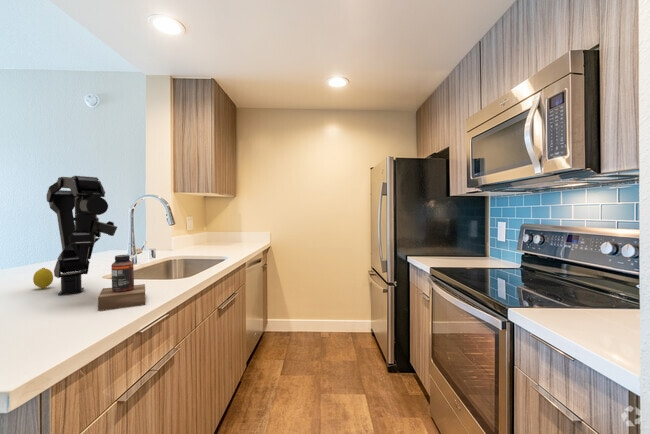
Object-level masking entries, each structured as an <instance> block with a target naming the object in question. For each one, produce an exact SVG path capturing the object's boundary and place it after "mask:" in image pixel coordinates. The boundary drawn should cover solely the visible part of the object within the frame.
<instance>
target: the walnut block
mask: <svg viewBox="0 0 650 434" xmlns="http://www.w3.org/2000/svg"><path fill="white" fill-rule="evenodd" d="M144 305H146V284H145V283H143V284H134V288H133V289H132V290H129V291H125V292H113V291H112V287H106V288H105V287H104V288H102V289H101V291H100V293H99V294H98V297H97V312H101V311H102V312H103V311H109V310H117V309H123V308H131V307H137V306H144Z"/></svg>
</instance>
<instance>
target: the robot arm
mask: <svg viewBox="0 0 650 434" xmlns="http://www.w3.org/2000/svg"><path fill="white" fill-rule="evenodd" d="M62 189H63V190H62ZM64 189H70V190H64ZM105 194H106V191H105V188H104V186H103V185H102V182H101V180H100V179H99V178H98V177H95V176H85V175H84V176H83V175H82V176H81V175H73V176H71V177H70V176H59V177H58V178H57V180H56V182H54V183H52V185H50V186H49V187H48V189H47V193H46V202H48V205H49V208H50V209H51V211H53V212H54V213H55V214H56V216H57V223H58V230H59V236H60V244H61V250H62V251H61V252H60V254H59V255H58V257H57V260H56V263H55V266H54V269H53V273H54V274H53V277H55V278H57V279H60V291H58V293H57V295H58V296H60V295H69V294H71V295H72V294H79V293H82V292H83V291H84V290H85V287H82V285H83V284H82V275H87V274H89V273H88V272H89V269H90V267H89V266H90V263H91V262H90V260H91V259H92V254H93V250H94V246H95V244H96V242H97V241H99V240H100V239H101V238H102V235H101V234H105V235H108V236H110V237H111V236H112V237H114V236H115V233H116V231H117V230H118V226H117V225H115V222H113V221H110V220H109V221H107V222H101V221H100V220H99V219H100V218H99V217H98V216H100V215H103V214H105V213H106V212H107V211H108V209H109V204H108V201H107V200H106V199H105V197H106V195H105ZM73 210H74V212H73Z"/></svg>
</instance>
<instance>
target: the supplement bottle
mask: <svg viewBox="0 0 650 434" xmlns="http://www.w3.org/2000/svg"><path fill="white" fill-rule="evenodd" d="M130 257H131V255H130V254H118V255H114V260H115V261H114V262H113V263H112V264H111V288H112V291H113V292H125V291H129V290H132V289H133V288H134V285H135V278H134V277H135V275H134V274H135V273H134V272H135V271H134V269H135V267H134V262H133V261H132V260H130V259H131V258H130Z"/></svg>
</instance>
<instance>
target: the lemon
mask: <svg viewBox="0 0 650 434" xmlns="http://www.w3.org/2000/svg"><path fill="white" fill-rule="evenodd" d="M32 279H33V280H32V281H33V285H35V287H38V288H40V289H41V290H44V289H46V288H47V287H49V286H50V285H51V284H52V283H53V281H54V274H53V272H52V271H51V269H49V268H46V267H42V268H40V269H38V270H36V271H35V272H34V274H33V278H32Z"/></svg>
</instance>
